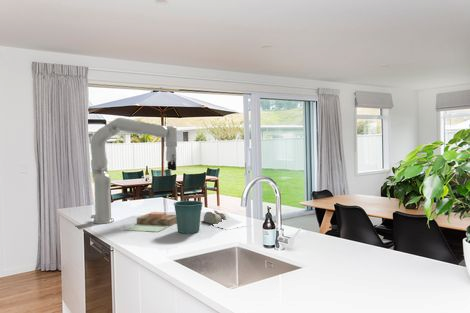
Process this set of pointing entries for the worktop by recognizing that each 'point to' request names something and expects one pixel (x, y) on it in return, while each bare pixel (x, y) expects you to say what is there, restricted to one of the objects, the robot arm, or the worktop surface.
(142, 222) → the board
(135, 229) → the sage mat
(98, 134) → the robot arm
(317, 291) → the worktop surface
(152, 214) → the terracotta tile
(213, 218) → the grey lumpy piece
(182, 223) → the flower pot
